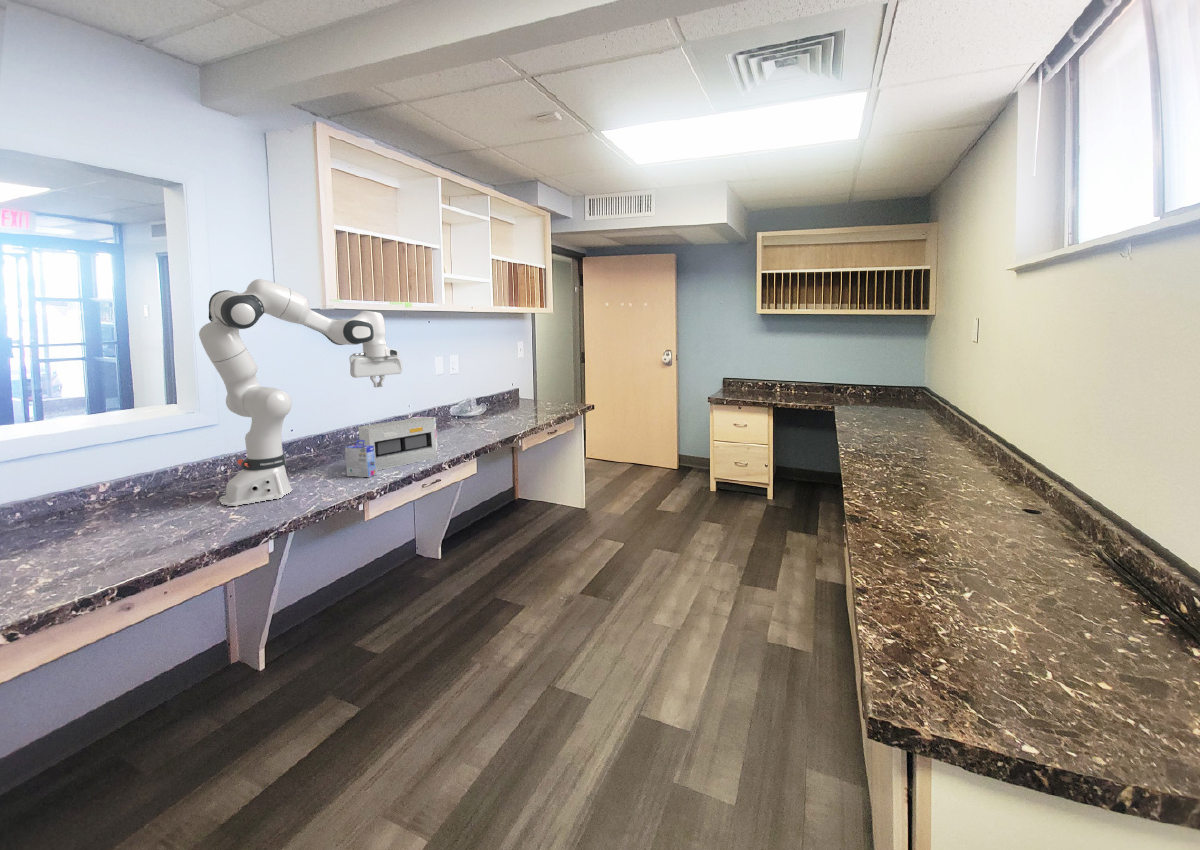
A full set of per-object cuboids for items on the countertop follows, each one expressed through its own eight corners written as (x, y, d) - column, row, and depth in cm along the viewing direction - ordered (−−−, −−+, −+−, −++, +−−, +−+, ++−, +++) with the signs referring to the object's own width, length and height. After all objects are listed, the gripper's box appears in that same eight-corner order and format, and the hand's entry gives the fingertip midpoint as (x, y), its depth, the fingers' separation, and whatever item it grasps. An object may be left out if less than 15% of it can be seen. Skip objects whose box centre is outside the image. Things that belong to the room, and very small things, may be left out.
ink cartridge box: (377, 474, 230) (374, 439, 227) (369, 478, 225) (365, 442, 222) (355, 473, 232) (351, 438, 229) (346, 477, 227) (343, 441, 224)
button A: (378, 454, 236) (377, 442, 235) (372, 452, 239) (371, 441, 238) (400, 450, 243) (400, 438, 242) (395, 448, 246) (394, 437, 245)
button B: (405, 449, 244) (404, 438, 243) (400, 448, 247) (399, 436, 246) (426, 445, 251) (425, 434, 250) (420, 444, 254) (420, 433, 254)
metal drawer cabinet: (372, 472, 233) (368, 429, 229) (362, 468, 239) (358, 426, 235) (437, 458, 254) (434, 419, 251) (426, 455, 261) (423, 416, 257)
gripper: (352, 353, 215) (356, 390, 217) (403, 351, 229) (405, 385, 232) (345, 353, 219) (348, 389, 221) (395, 350, 234) (397, 384, 236)
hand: (378, 387), depth 227 cm, fingers closed
